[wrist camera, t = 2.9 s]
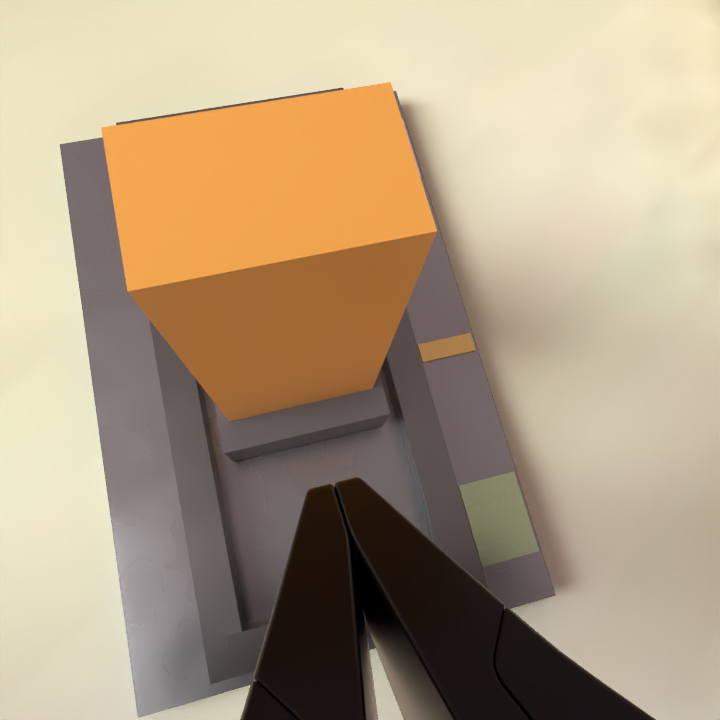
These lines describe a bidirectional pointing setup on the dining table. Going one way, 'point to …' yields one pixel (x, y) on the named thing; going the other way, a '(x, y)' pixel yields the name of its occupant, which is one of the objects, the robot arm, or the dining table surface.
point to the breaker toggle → (275, 255)
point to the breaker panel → (274, 465)
